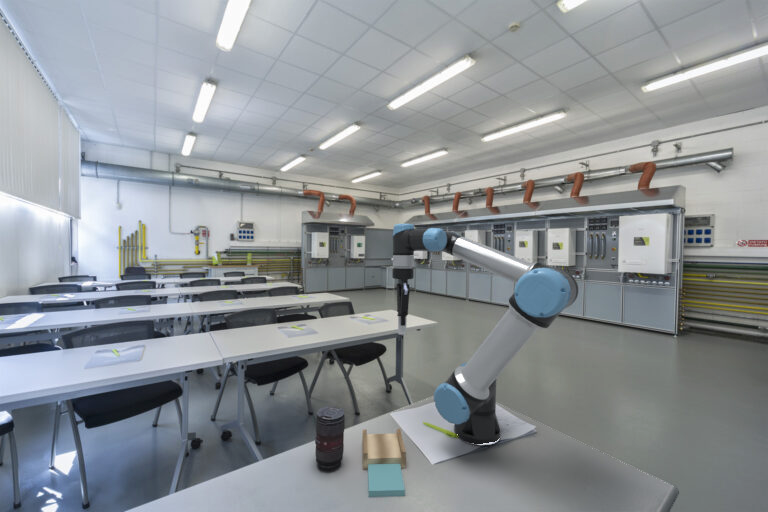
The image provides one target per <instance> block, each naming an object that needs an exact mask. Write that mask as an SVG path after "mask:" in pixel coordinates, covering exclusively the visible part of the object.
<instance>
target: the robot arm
mask: <svg viewBox="0 0 768 512" xmlns="http://www.w3.org/2000/svg"><path fill="white" fill-rule="evenodd" d="M415 252H439V253H441V252H443V253H446V254H448V255H450V256H453V257H455V258H458V259H460V260H462V261H464V262H466V263H469V264H471V265H473V266H475V267H478V268H480V269H483V270H485V271H487V272H489V273H492V274H494V275H496V276H498V277H501V278H503V279H505V280H507V281H509V282H511V283H514V284H516V285H515V287H514V291H513V293H512V295H511V296H510V297H509V298H508V300H507V303H508V309H507V311H506V312H505V313H504V314H503V316H502V317H501V319H500V320H499V321H498V322H497V324H496V325H495V326H494V328H493V329H492V330H491V331H490V333H489V334H488V335H487V337H485V339H484V340H483V342H482V343H481V344H480V345H479V347H478V348H477V349H476V350H475V352H474V353H473V355H472V356H471V357H470V359H468V361H467V362H464V363H461V364H460V366H459V365H458V366H457V367H456V368H455V369H454V371H452V373H451V374H450V375H449V376H448V378H447V380H446V381H444V382H442V383H440V384H439V385H438V386H437V387H436V389H434V390H435V391H434V393H433V402H434V406H435V408H436V410H437V412H438V414H439V415H440V416H441V417H442V419H444V420H445V421H447V422H448V423H449V424H454V425H453V427H454V428H453V430H454V433H456V434H458V436H459V437H458V436H457V437H458V438H459V439H461V441H463V442H465V441H466V443H467V442H469V443H468V444H470V443H474V444H483V443H489V442H495V441H497V440H498V439H499V438H500V436H501V435H502V433H501V432H502V431H501V427H500V424H499V419H498V417H497V414H496V409H497V408H496V407H497V406H496V405H497V404H496V403H497V378H498V377H499V376H500V374H501V373H502V372H503V371H504V370H505V368H506V367H507V366H508V365H509V364H510V363H511V362H512V360H513V359H514V358H515V357H516V356H517V355H518V353H519V352H520V351H521V350H522V348H523V347H524V346H525V345H526V344H527V343H528V341H530V339H531V338H532V337H533V336H534V335H535V333H537V331H538V330H546V329H548V328H549V327H550V326H551V325H552V324H553V322H555V320H556V319H557V318H558V317H559V316H560V314H561V313H562V312H563V311H564V310H565V309H567V308H569V307H570V306H572V305H573V304H574V303H575V301H576V300H577V298H578V296H579V290H580V289H579V284H578V281H577V280H576V278H575V277H574V275H573V274H571V273H570V272H569V271H567V270H566V269H564V268H563V269H562V268H559V267H554V266H551V265H547V264H544V263H541V262H539V261H536V262H530V261H526V260H524V259H522V258H518V257H516V256H513V255H512V254H509V253H506V252H504V251H501V250H498V249H496V248H493V247H491V246H488V245H484V244H483V243H480V242H477V241H474V240H473V239H470V238H467V237H464V236H462V235H460V234H459V233H457V232H454V231H453V230H452V231H451V230H449V231H448V230H444V229H443V228H439V227H437V228H436V227H430V228H417V229H415V225H414V224H411V223H396V224H394V226H393V230H392V257H391V259H390V260H391V261H392V267H393V268H392V275H391V276H392V279H395V280H397V281H398V282H397V283H396V305H397V307H396V308H397V309H396V312H397V316H396V317H397V321H398V322H397V334H398V335H400V336H401V335H402V336H403V335H407V316H408V315H409V301H410V299H409V298H410V293H411V289H410V284H409V283H408V282H409V281H408V280H412V279H414V277H415V275H414V271H415V269H414V266H415ZM456 434H455V435H456ZM500 439H501V438H500ZM496 444H497V443H495V444H492V445H490V446H494V445H496Z"/></svg>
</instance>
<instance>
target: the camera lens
mask: <svg viewBox="0 0 768 512" xmlns="http://www.w3.org/2000/svg"><path fill="white" fill-rule="evenodd" d="M345 416H346V415H345V411H344V409H343V408H341V407H338V406H333V405H331V406H324V407H322V408H320V409H318V411H317V413H316V417H315V434H316V435H315V437H314V443H315V461H316V464H317V468H318V470H320V471H321V472H324V473H332V472H335V471H337V470H338V469H339V468H340V467H341V465H342V460H343V459H344V449H345V448H344V447H345V446H344V444H345V443H344V437H345V436H344V434H345V433H344V432H345V425H346V424H345V423H346V417H345Z"/></svg>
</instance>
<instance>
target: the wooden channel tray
mask: <svg viewBox="0 0 768 512" xmlns="http://www.w3.org/2000/svg"><path fill="white" fill-rule="evenodd" d="M361 441H362V442H361V445H362V470H368V464H400V466H401V469H406V465H407V452H406V451H407V450H406V446H405V443H404V438H403V435H402V431H401V428H396V432H395V433H367V429H362V440H361Z"/></svg>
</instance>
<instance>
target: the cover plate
mask: <svg viewBox="0 0 768 512" xmlns="http://www.w3.org/2000/svg"><path fill="white" fill-rule="evenodd" d="M403 478H404V477H403V472H402V468H401V466H400V464H368V469H367V479H368V480H367V482H368V483H367V484H368V489H367V491H368V498H375V497H376V498H381V497H382V498H383V497H405V496H406V495H405V494H406V493H405V492H406V489H405V484H404V483H405V482H404V479H403Z"/></svg>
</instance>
